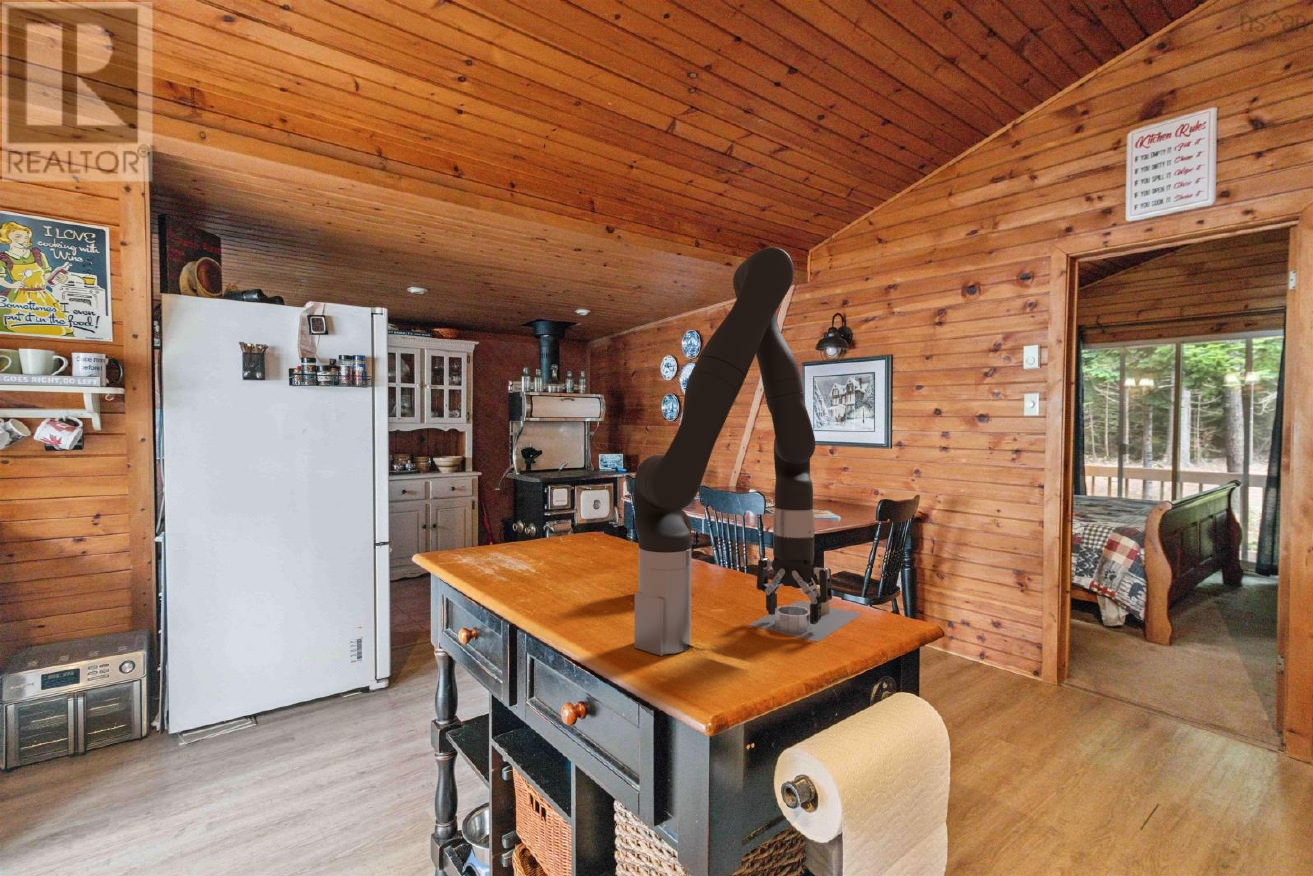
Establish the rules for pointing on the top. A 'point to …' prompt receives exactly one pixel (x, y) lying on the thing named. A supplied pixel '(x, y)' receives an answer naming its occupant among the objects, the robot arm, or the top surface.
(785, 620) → the steel ring
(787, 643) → the top surface
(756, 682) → the top surface
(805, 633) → the fitting plate
